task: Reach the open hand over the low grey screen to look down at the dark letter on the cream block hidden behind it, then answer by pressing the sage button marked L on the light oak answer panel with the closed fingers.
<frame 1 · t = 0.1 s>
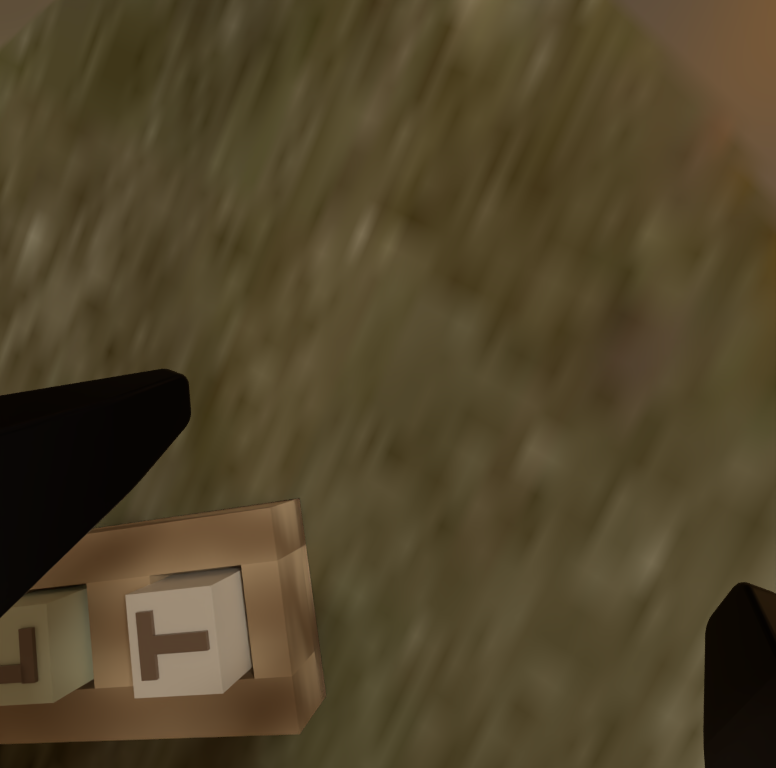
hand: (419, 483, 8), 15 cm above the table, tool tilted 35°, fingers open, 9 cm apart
L button: (42, 642, 23), point 3 cm above the table, slide at 0.0 cm
answer panel: (166, 609, 25), on the table
T button: (194, 628, 21), point 3 cm above the table, slide at 0.0 cm
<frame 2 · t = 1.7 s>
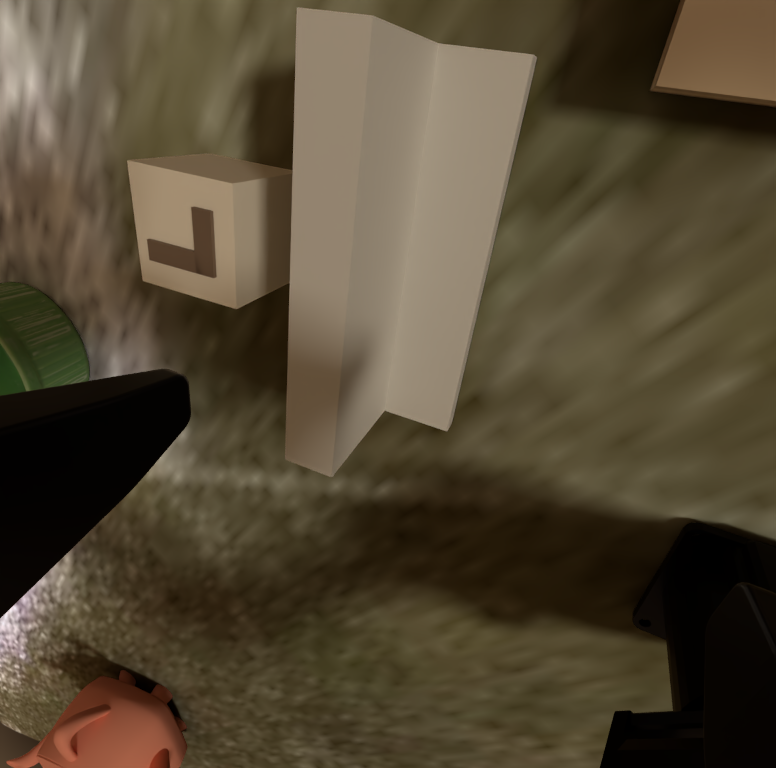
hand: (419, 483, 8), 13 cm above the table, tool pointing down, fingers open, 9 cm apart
grey screen: (390, 250, 20), on the table
pink rounded piece: (154, 697, 52), on the table
ramekin: (47, 341, 32), on the table
letter block: (255, 217, 22), on the table
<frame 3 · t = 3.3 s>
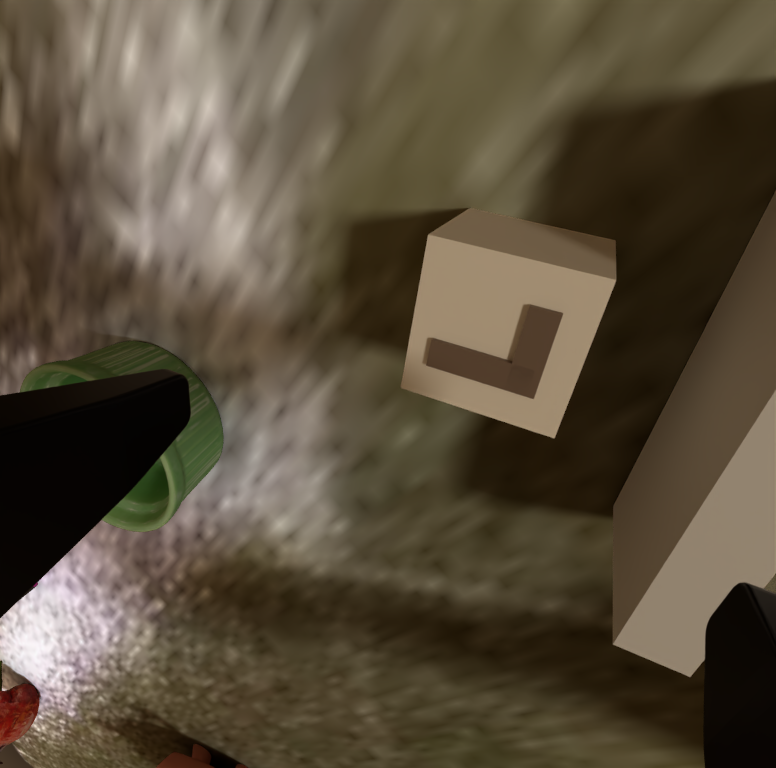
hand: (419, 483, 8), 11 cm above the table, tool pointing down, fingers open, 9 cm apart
grey screen: (735, 349, 15), on the table
ramekin: (166, 407, 27), on the table
red apple: (27, 682, 58), on the table
letter block: (520, 291, 17), on the table
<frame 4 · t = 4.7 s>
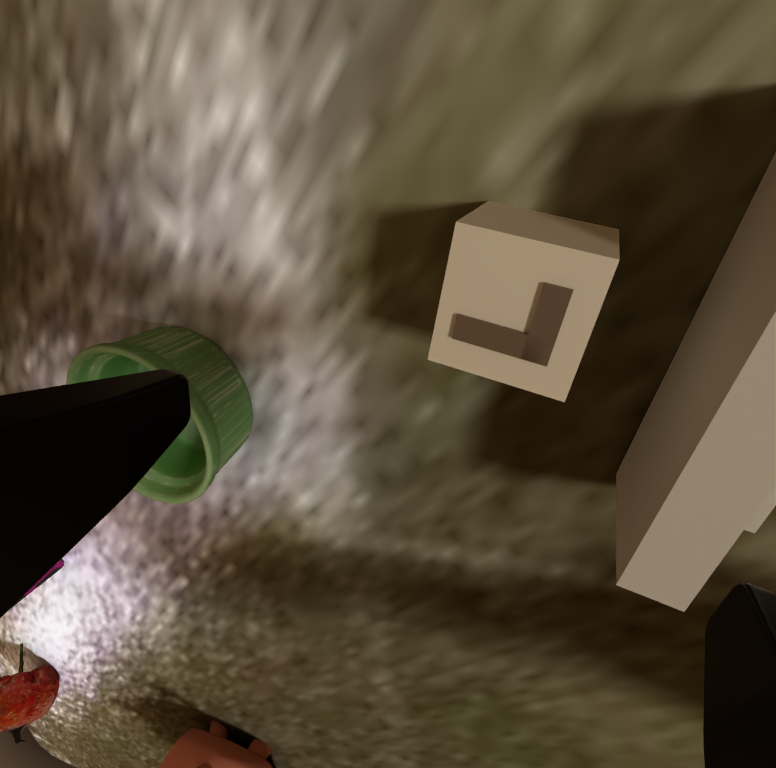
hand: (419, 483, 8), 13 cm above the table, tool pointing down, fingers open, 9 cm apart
grey screen: (725, 326, 17), on the table
pink rounded piece: (246, 749, 48), on the table
ramekin: (198, 389, 28), on the table
red apple: (47, 664, 59), on the table
letter block: (533, 276, 19), on the table
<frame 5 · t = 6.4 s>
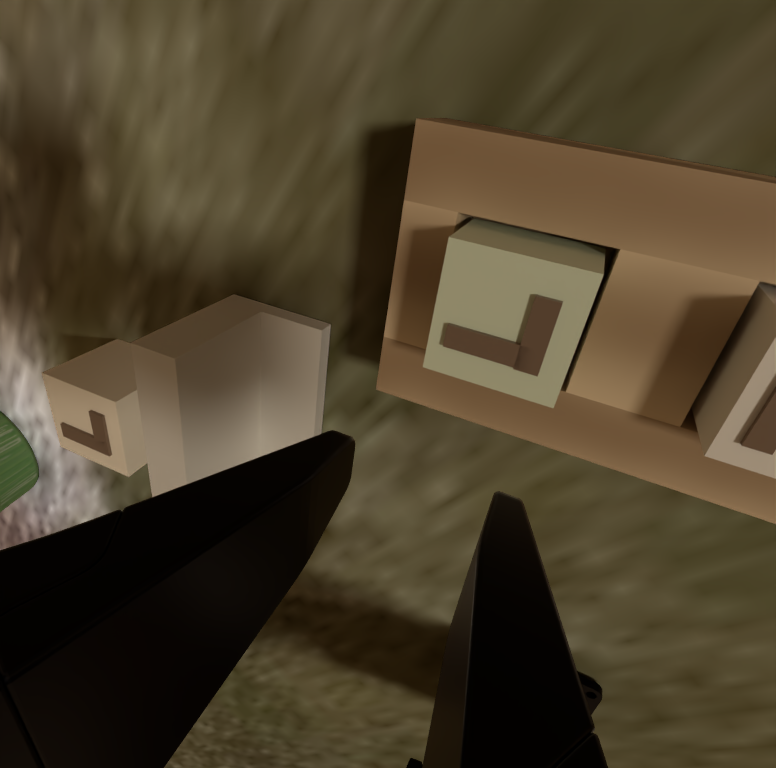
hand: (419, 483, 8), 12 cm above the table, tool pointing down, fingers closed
grey screen: (252, 424, 26), on the table
ramekin: (3, 442, 38), on the table
L button: (511, 309, 15), point 3 cm above the table, slide at 0.0 cm
answer panel: (646, 309, 17), on the table
letter block: (155, 385, 28), on the table
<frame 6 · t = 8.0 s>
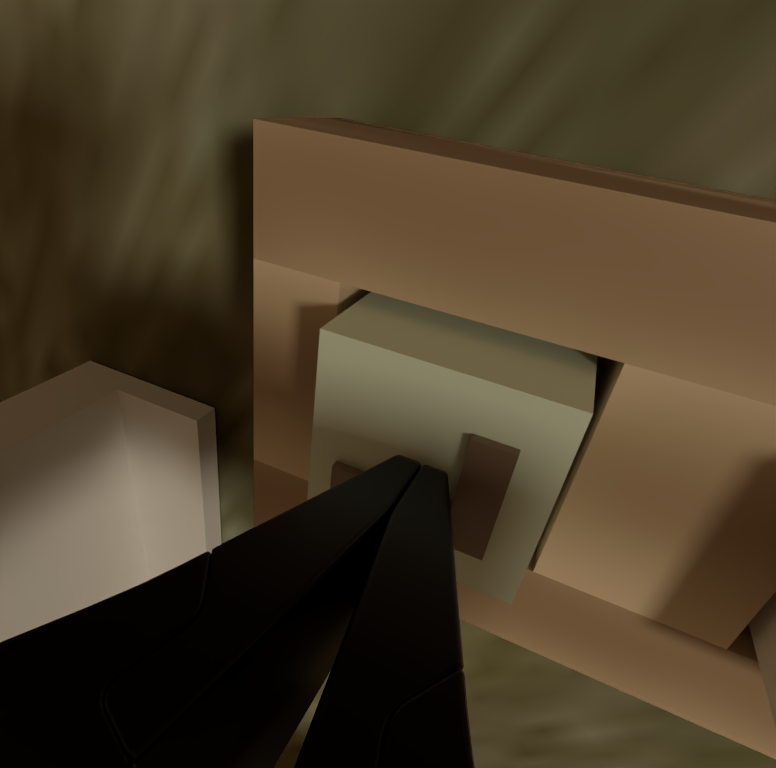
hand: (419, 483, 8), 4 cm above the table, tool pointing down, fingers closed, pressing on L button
grey screen: (138, 520, 20), on the table
L button: (446, 430, 9), point 3 cm above the table, slide at -0.6 cm, touching gripper
answer panel: (665, 424, 10), on the table
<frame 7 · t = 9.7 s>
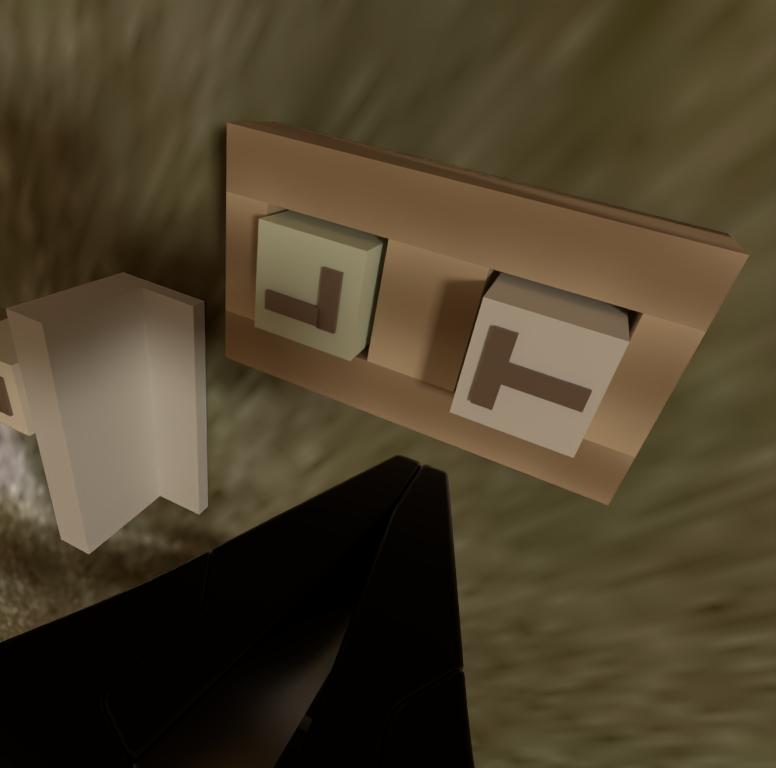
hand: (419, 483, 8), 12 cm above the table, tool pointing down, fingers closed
grey screen: (149, 392, 29), on the table
L button: (325, 281, 18), point 3 cm above the table, slide at -0.9 cm
answer panel: (446, 293, 20), on the table
letter block: (65, 355, 30), on the table
T button: (536, 361, 16), point 3 cm above the table, slide at 0.0 cm
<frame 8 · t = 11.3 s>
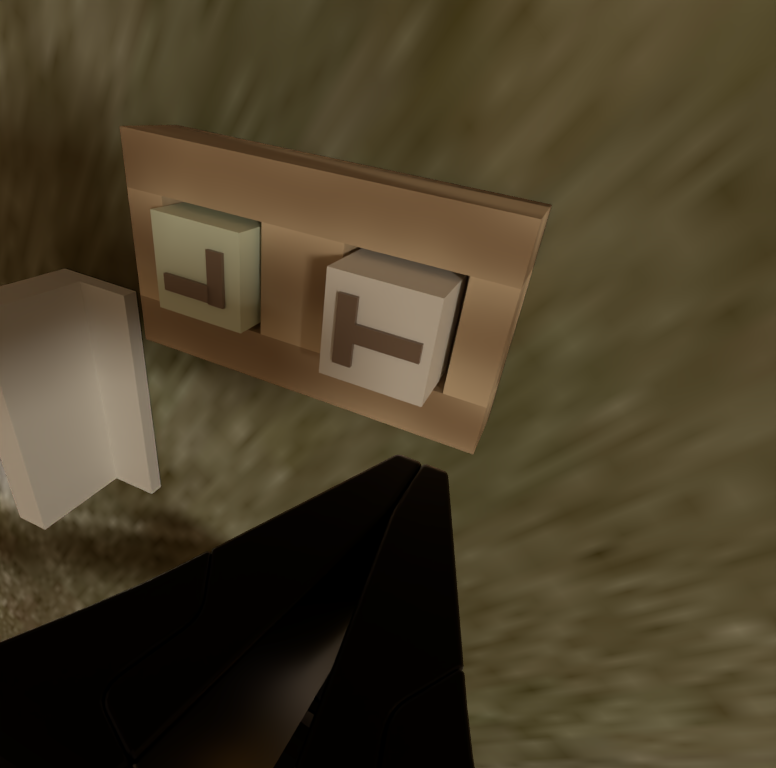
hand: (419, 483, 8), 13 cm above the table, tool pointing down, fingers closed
grey screen: (98, 380, 31), on the table
L button: (220, 264, 21), point 3 cm above the table, slide at -0.9 cm
answer panel: (334, 272, 22), on the table
T button: (391, 324, 18), point 3 cm above the table, slide at 0.0 cm
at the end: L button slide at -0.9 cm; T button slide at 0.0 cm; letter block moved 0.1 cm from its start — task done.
